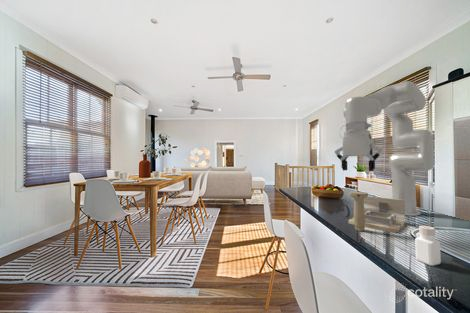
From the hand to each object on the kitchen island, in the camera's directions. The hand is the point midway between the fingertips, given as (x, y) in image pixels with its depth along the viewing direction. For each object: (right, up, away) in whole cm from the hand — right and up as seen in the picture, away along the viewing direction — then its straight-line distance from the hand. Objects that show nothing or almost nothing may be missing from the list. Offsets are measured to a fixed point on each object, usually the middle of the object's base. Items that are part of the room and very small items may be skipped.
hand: (357, 170), depth 84 cm
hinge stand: (+12, -24, +7) cm, 28 cm away
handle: (+1, -24, 0) cm, 24 cm away
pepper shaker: (+3, -24, -27) cm, 36 cm away
